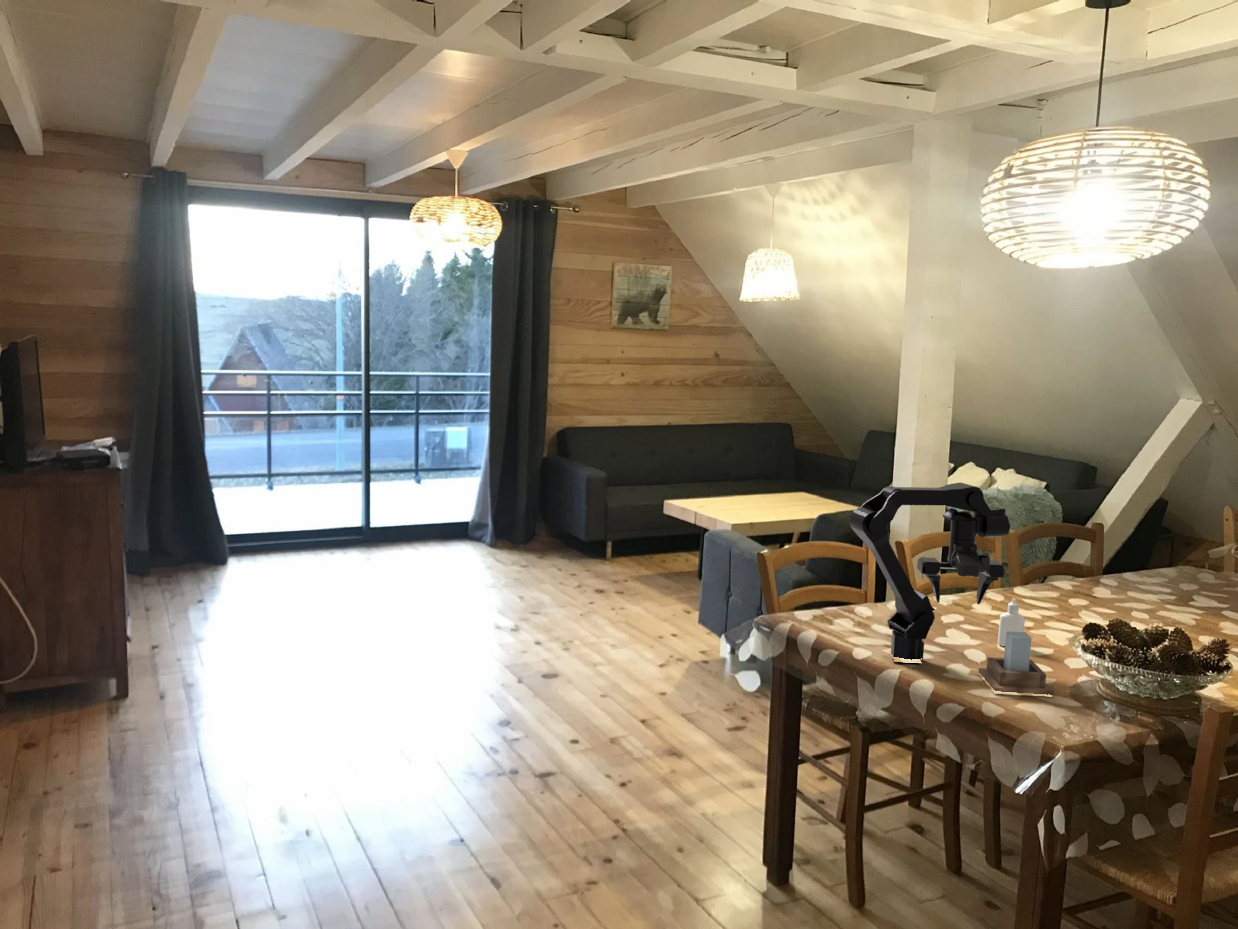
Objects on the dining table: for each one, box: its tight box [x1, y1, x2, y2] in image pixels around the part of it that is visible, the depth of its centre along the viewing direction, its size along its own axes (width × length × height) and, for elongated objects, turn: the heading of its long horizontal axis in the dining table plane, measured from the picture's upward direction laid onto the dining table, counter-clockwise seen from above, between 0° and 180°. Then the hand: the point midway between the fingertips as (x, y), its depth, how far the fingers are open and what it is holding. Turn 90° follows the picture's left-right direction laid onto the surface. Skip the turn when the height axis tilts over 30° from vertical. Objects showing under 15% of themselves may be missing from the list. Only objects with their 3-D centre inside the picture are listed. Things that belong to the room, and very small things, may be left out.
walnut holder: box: [978, 657, 1054, 696], centre depth 210 cm, size 12×12×4 cm
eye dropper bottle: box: [997, 597, 1026, 646], centre depth 236 cm, size 4×6×12 cm
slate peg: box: [1003, 631, 1032, 672], centre depth 210 cm, size 4×4×10 cm
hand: (957, 603), depth 227 cm, fingers open, 9 cm apart
